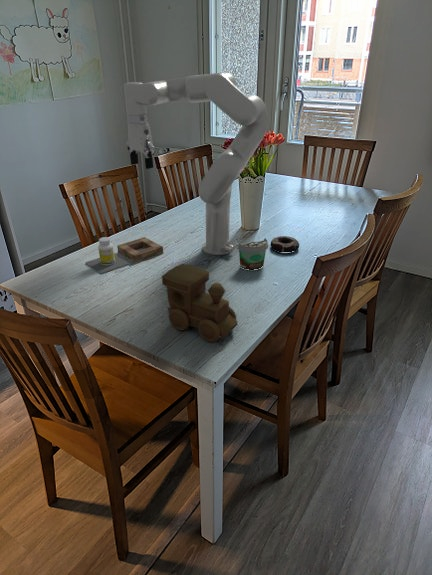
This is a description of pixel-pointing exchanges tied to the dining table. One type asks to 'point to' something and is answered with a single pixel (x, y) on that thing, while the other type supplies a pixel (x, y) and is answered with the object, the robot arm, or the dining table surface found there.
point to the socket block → (148, 252)
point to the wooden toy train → (197, 303)
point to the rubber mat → (104, 269)
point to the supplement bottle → (106, 251)
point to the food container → (252, 254)
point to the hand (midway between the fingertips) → (142, 166)
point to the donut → (284, 244)
